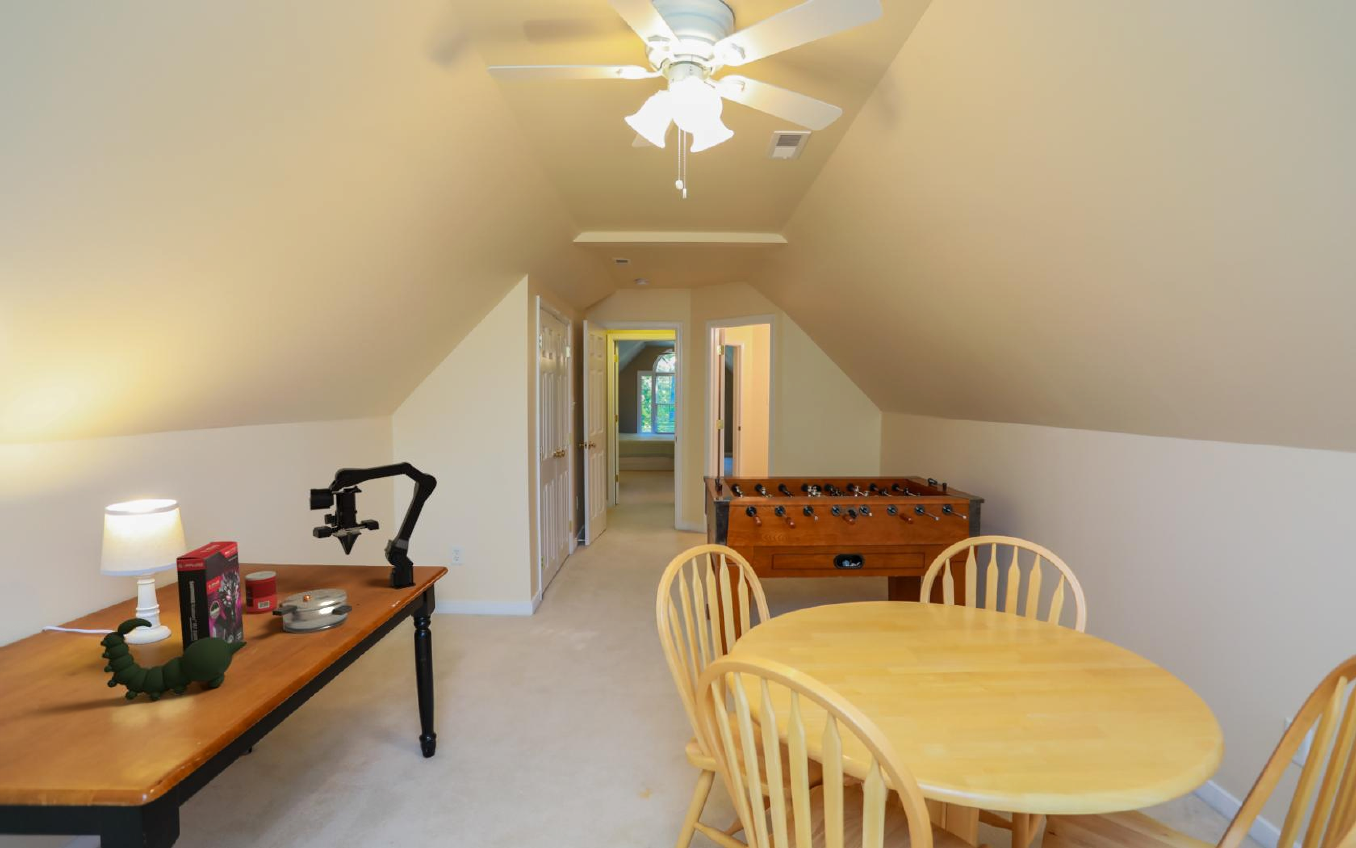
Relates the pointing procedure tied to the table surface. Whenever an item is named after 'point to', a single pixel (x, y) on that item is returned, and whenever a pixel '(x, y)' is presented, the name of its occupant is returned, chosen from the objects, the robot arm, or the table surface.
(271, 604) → the canned food
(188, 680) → the toy figurine
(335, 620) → the cooker pot
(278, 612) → the cooker lid
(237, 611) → the graphics card box
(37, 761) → the table surface
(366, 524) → the robot arm
